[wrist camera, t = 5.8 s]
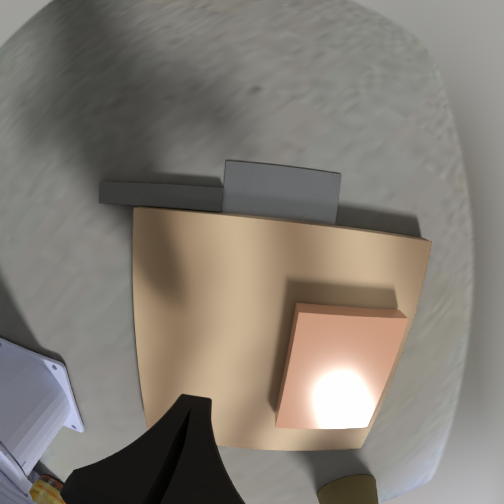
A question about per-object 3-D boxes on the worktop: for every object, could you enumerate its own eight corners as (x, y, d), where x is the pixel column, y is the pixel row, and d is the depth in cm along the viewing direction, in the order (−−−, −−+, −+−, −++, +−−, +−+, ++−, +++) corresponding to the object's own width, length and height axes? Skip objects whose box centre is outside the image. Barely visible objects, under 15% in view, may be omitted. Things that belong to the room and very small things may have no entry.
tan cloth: (152, 421, 19) (148, 432, 18) (142, 205, 15) (133, 207, 14) (357, 437, 19) (360, 448, 18) (422, 237, 15) (432, 241, 14)
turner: (105, 225, 16) (98, 227, 15) (108, 157, 15) (101, 156, 14) (330, 247, 16) (333, 251, 15) (339, 174, 15) (343, 174, 14)
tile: (275, 427, 16) (366, 426, 16) (298, 312, 14) (408, 318, 14) (274, 413, 17) (361, 413, 17) (295, 301, 15) (398, 308, 15)
